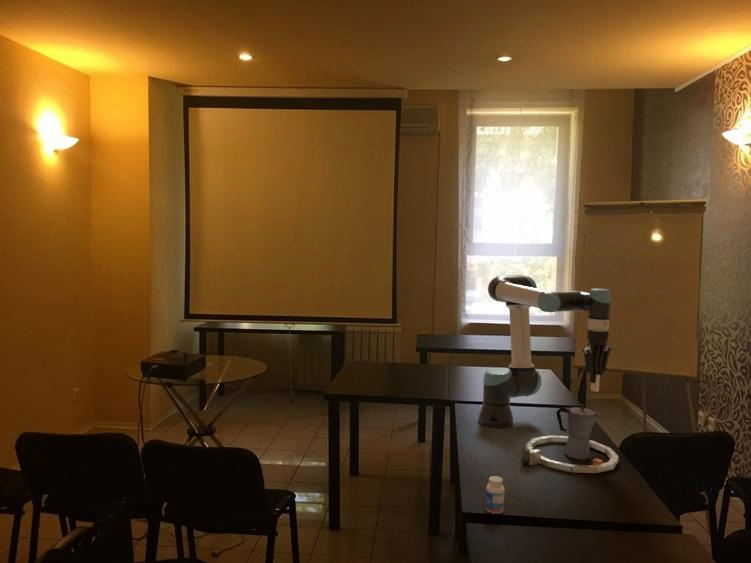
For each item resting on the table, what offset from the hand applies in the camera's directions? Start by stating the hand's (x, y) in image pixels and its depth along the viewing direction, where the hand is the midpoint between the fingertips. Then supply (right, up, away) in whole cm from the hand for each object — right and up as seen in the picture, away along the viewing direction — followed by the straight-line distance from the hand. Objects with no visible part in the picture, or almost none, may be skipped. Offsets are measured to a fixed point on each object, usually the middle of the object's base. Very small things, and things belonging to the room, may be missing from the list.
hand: (594, 390), depth 225 cm
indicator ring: (-13, -24, -5) cm, 28 cm away
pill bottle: (-48, -27, -48) cm, 73 cm away
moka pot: (-8, -24, -2) cm, 26 cm away
